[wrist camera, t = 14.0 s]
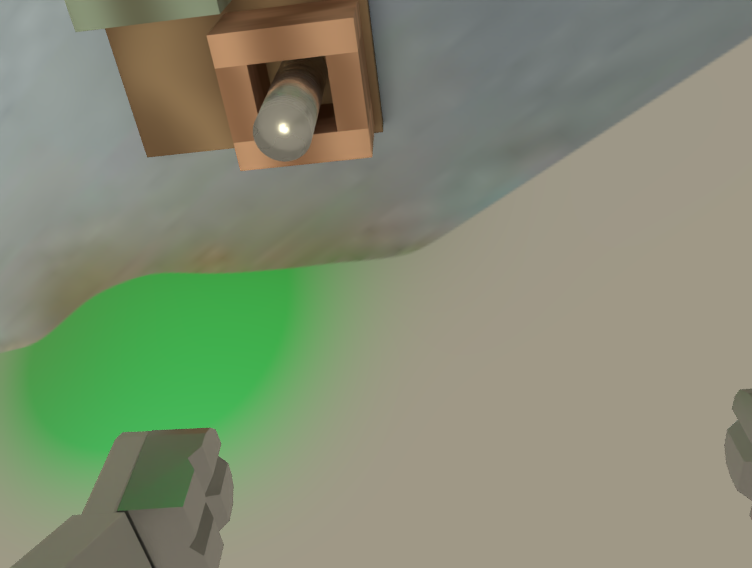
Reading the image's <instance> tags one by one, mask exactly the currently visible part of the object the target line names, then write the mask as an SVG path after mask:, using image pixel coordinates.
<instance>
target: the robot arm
mask: <svg viewBox="0 0 752 568" xmlns="http://www.w3.org/2000/svg"><path fill="white" fill-rule="evenodd" d="M732 410H733V411H734V413H735V415H736V417H737V419H738V420H737V421H736V422H735V423H734V424H733V425H732V426H731V427H730V428H728V429H727V434H726V439H725V445H724V446H725V455H726V464H727V467H728V470H729V474H730V476H731V479H732V481H733V483H734V485H735V487H736V489H737V491H739V492H740V493H742V494H743V495H745V496H746V497H747V498H749V499H750V500H752V389H742V390H739V392H738V393H737V394H736V396H735V398H734V402H733V406H732ZM220 447H221V442H220V439H219V437H218V434H217V432H216V430H215V429H212V428H197V429H175V430H152V431H145V432H123V433H122V434H121V435H119V436H118V437H117V438H116V439H115V441H114V444H113V446H112V448H111V450H110V452H109V454H108V457H107V459H106V461H105V463H104V466H103V468H102V470H101V472H100V474H99V477H98V479H97V481H96V483H95V486H94V488H93V490H92V492H91V495H90V497H89V499H88V501H87V504H86V506H85V508H84V510H83V512H82V514H81V515H72V516H71V517H70V518H69V519H68V520H67V521H65V522H64V523H63V524H62V525H60V526H59V527H58V528H57V529H56V530H55V531H53V532H52V533H51V534H50V535H48V536H47V537H46V538H45V539H44V540H43V541H41V542H40V543H39V544H38V545H37V546H35V547H34V548H33V549H32V550H31V551H29V552H28V553H27V554H26V555H25V556H23V557H22V558H21V559H20V560H19V561H18V562H16V563H15V564H14V565H13V566H12V567H10V568H218V567H219V563H220V559H221V555H222V550H223V546H224V544H223V542H222V539H221V536H220V533H219V531H220V530H221V529H222V528H223V527H224V526H225V525H226V524H227V523H228V522H229V521H230V516H231V511H232V506H233V481H232V474H231V471H230V468H229V465H228V463H227V462H226V461H225V460H223V459H222V458H220V457H219V456H218V454H219V451H220ZM750 517H751V519H752V508H751V512H750Z"/></svg>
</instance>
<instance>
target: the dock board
mask: <svg viewBox="0 0 752 568" xmlns="http://www.w3.org/2000/svg"><path fill="white" fill-rule="evenodd" d="M65 3H66V6H67V9H68V12H69V14H70V17H71V20H72V23H73V26H74V29H75V31H76V32H81V31H88V30H96V29H104V28H105V30H106V33H107V36H108V39H109V42H110V45H111V48H112V51H113V54H114V57H115V60H116V63H117V66H118V70H119V73H120V76H121V79H122V82H123V85H124V88H125V91H126V94H127V97H128V100H129V103H130V106H131V109H132V112H133V115H134V118H135V121H136V124H137V127H138V130H139V133H140V136H141V140H142V143H143V146H144V149H145V152H146V155H147V157H155V156H164V155H174V154H183V153H192V152H202V151H211V150H220V149H229V148H235V151H236V155H237V159H238V163H239V167H240V171H245V170H255V169H264V168H274V167H283V166H293V165H303V164H312V163H322V162H331V161H341V160H350V159H360V158H369V157H372V154H373V139H374V133H378V132H383V117H382V109H381V101H380V93H379V85H378V76H377V68H376V60H375V52H374V44H373V36H372V27H371V19H370V11H369V3H368V0H65ZM318 56H322V58H323V59H324V61H325V62H326V65H327V69H328V77H327V82H326V86H325V90H324V94H323V97H322V101H321V105H320V109H319V113H318V117H317V121H316V125H315V129H314V133H313V137H312V141H311V144H310V147H309V149H308V150H307V152H306V153H305V154H304V155H303V156H301V157H300V158H298V159H296V160H293V161H286V162H283V161H277V160H274V159H271V158H269V157H268V156H266V155H265V154H263V153H262V152H261V151H260V149H259V148H258V147H257V145H256V143H255V141H254V137H253V125H254V122H255V120H256V117H257V115H258V113H259V111H260V109H261V106H262V104H263V102H264V100H265V97H266V95H267V93H268V91H269V88H270V86H271V84H272V82H273V79H274V77H275V75H276V73H277V70H278V68H279V66H280V64H281V62H282V61H284V60H293V59H301V58H310V57H318Z"/></svg>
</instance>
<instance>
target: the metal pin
mask: <svg viewBox="0 0 752 568" xmlns="http://www.w3.org/2000/svg"><path fill="white" fill-rule="evenodd" d="M327 77H328V69H327V65H326V62H325V61H324V59H323V58H322V56H318V57H310V58H301V59H293V60H284V61H282V62H281V64H280V66H279V68H278V70H277V73H276V75H275V77H274V79H273V82H272V84H271V86H270V88H269V91H268V93H267V95H266V97H265V100H264V102H263V104H262V106H261V109H260V111H259V113H258V115H257V117H256V120H255V122H254V125H253V137H254V141H255V143H256V145H257V147H258V148H259V149H260V151H261V152H262V153H263V154H265V155H266V156H268V157H269V158H271V159H274V160H277V161H283V162H286V161H293V160H296V159H298V158H300V157H301V156H303V155H304V154H305V153H306V152H307V150H308V149H309V147H310V144H311V141H312V137H313V133H314V129H315V125H316V121H317V117H318V113H319V109H320V105H321V101H322V97H323V94H324V90H325V86H326V82H327Z"/></svg>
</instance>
